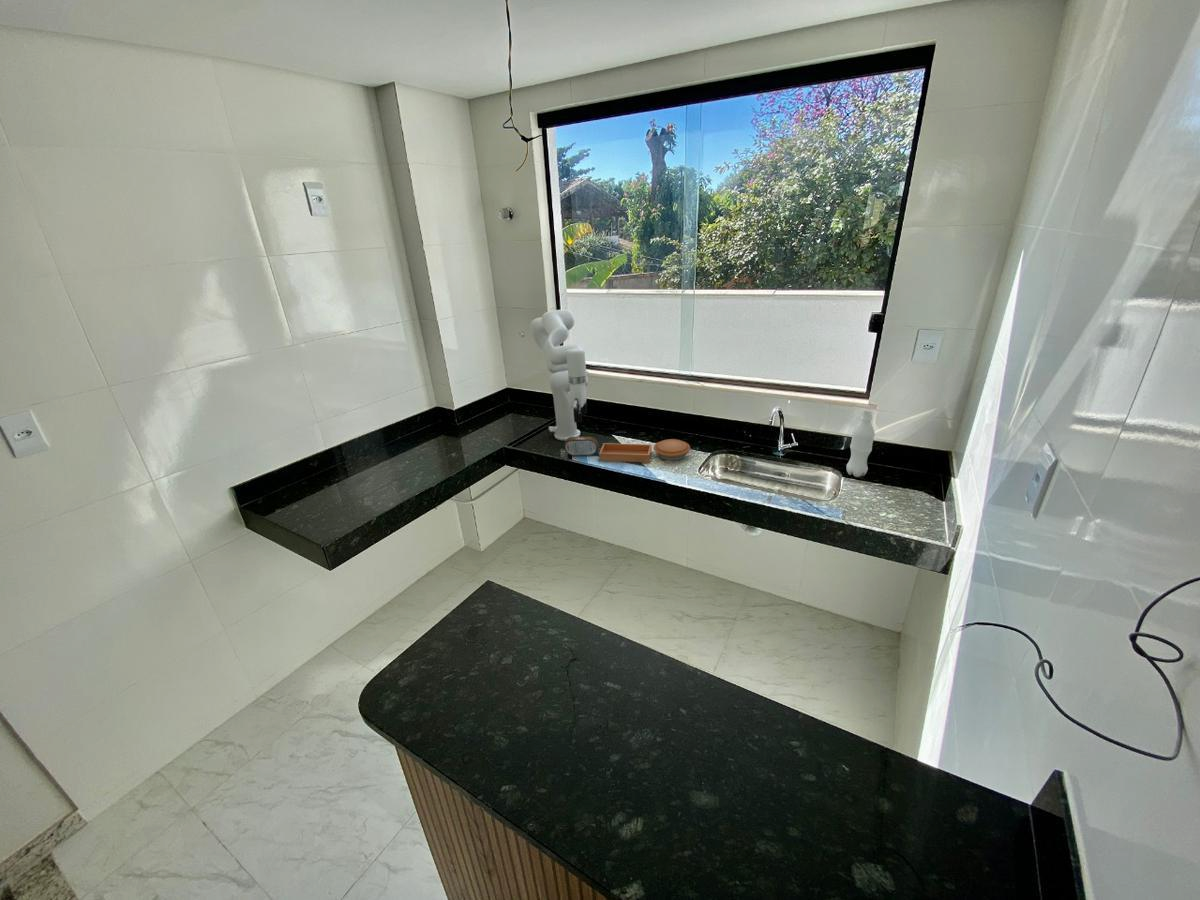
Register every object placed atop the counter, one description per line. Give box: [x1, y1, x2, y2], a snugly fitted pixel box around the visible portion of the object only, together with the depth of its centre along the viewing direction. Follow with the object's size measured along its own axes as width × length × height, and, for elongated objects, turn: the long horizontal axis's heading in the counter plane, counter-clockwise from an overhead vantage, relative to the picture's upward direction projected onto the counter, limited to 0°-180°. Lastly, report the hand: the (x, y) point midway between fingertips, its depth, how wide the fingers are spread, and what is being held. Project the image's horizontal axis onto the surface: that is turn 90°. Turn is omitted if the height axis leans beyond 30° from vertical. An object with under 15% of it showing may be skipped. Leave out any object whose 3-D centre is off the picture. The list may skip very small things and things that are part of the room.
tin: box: [563, 436, 600, 457], centre depth 211 cm, size 15×3×8 cm, turn 84°
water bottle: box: [845, 410, 876, 478], centre depth 178 cm, size 7×7×25 cm
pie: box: [653, 438, 691, 461], centre depth 206 cm, size 15×16×5 cm
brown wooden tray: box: [598, 442, 653, 464], centre depth 208 cm, size 21×10×4 cm, turn 78°
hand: (580, 417), depth 205 cm, fingers open, 9 cm apart
